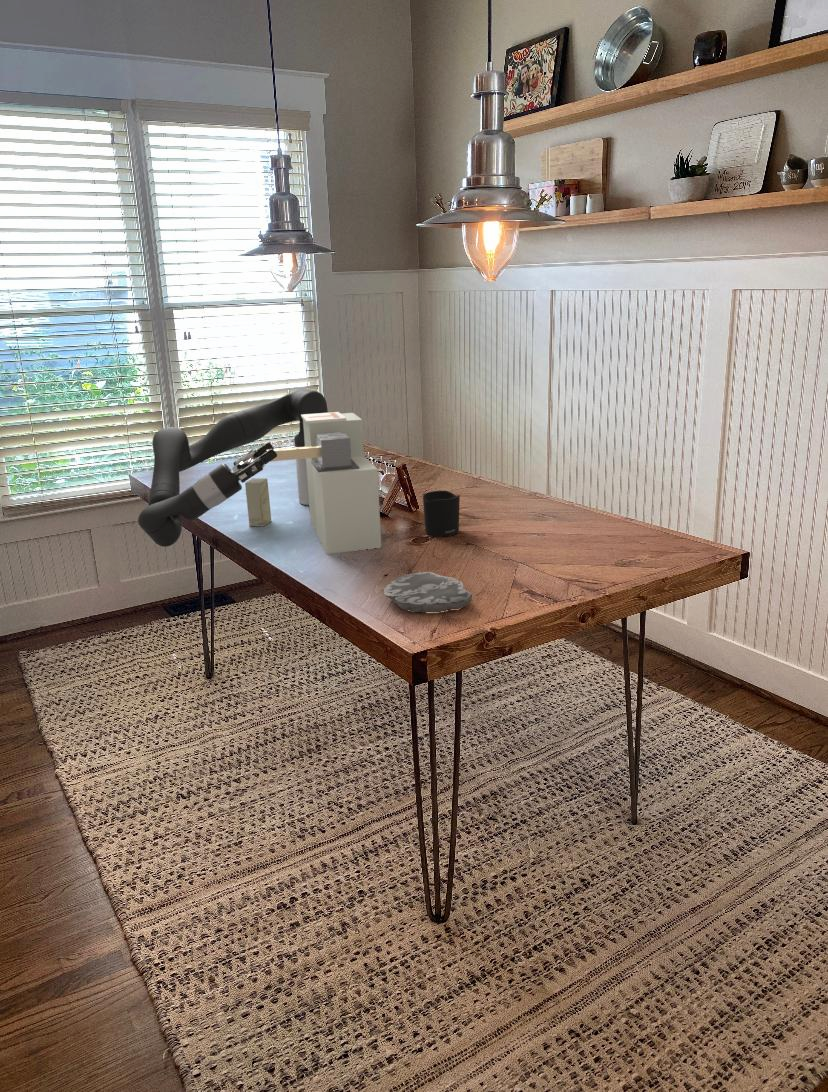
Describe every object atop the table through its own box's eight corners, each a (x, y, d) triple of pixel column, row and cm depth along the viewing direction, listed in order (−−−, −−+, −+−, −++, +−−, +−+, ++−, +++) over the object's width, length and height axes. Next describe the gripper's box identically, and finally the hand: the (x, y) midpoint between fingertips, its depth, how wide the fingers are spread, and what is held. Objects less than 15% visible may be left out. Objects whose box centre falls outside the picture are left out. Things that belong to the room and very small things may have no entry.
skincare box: (263, 526, 232) (259, 483, 228) (248, 526, 233) (244, 483, 229) (272, 520, 238) (268, 477, 234) (257, 520, 238) (253, 477, 235)
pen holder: (421, 537, 218) (420, 499, 214) (426, 527, 226) (425, 490, 223) (458, 538, 216) (457, 499, 213) (461, 527, 225) (461, 490, 222)
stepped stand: (359, 518, 236) (353, 410, 227) (381, 548, 210) (375, 427, 201) (308, 523, 233) (300, 414, 224) (325, 554, 207) (316, 431, 198)
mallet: (344, 459, 214) (343, 431, 212) (351, 466, 206) (350, 438, 204) (266, 466, 210) (264, 438, 208) (270, 473, 201) (268, 444, 199)
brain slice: (366, 597, 179) (366, 584, 179) (434, 580, 188) (433, 568, 187) (416, 627, 164) (415, 613, 163) (487, 607, 172) (487, 593, 171)
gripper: (208, 480, 196) (267, 440, 196) (206, 467, 209) (261, 430, 210) (228, 506, 199) (285, 467, 199) (225, 492, 212) (279, 455, 212)
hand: (273, 448), depth 204 cm, fingers open, 8 cm apart
